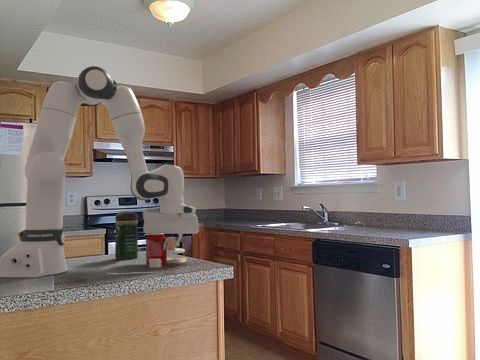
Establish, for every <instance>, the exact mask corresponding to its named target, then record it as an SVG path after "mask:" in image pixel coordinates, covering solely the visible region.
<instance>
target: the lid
mask: <svg viewBox="0 0 480 360" xmlns="http://www.w3.org/2000/svg"><path fill="white" fill-rule="evenodd" d="M166 240H167V255H169V254H172V255H175V254H182V253H185V251H186V249H184V248H182V247H181V248H179V247H176V246H175V241H176V237H175V236H167V237H166Z"/></svg>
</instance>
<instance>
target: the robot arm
mask: <svg viewBox="0 0 480 360" xmlns="http://www.w3.org/2000/svg"><path fill="white" fill-rule="evenodd" d="M46 92H47V93H46V95H45V98H44V100H43V103H42V105H41V109H40V113H39V117H38V121H37V125H36V128H35V132H34V135H33V139H32V141H31V145H30V148H29V151H28V154H27V158H26V163H25V166H24V170H23V171H24V175H25V178H26V179H27V186H26V203H25V229H23V230H22V231H20V232H17V234H18V235H17V237H19V241H18V242H17V243H15V244H14V245H13V246H12V247H11V248H9V249H8V250H6V251H5V252H4V253H3V254H1V256H0V278H40V277H45V276H51V275H58V274H61V273H65V272H68V270H69V268H68V265H67V262H66V256H65V248H64V245H65V241H66V240H65V238H66V237H65V228H64V227H63V226H64V224H63V223H64V218H63V217H64V215H63V214H64V212H63V211H64V210H63V209H64V198H65V197H64V196H65V189H66V174H67V173H66V170H67V166H66V164H65V163H66V162H65V161H64V160H65V157H66V154H67V151H68V148H69V145H70V143H71V140H72V138H73V132H74V128H75V126H76V121H77V118H78V117H77V116H78V112H79V109H80V107H95V106H98V105H100V104H101V105H102V106H104V107H105V108H106V110H107V111H108V113H109V114H108V115H109V118H110V122H111V124H112V127H113V130H114V132H115V134H116V136H117V138H118V140H119V142H120V144H121V146H122V148H123V150H124V151H123V152H124V154H125V157H126V160H127V164H128V166H129V170H130V174H131V175H130V176H131V177H130V178H131V180H130V192H131V194H132V196H133V197H134V198H135V199H137V200H140V201H149V200H153V199H155V198H159V207H158V208H155V207H154V208H149V207H148V208H147V209H145V210H144V211H143V212H142V219H143V220H144V222H143V230H142V231H143V233H144V234H147V235H148V233H154V232H163V233H165V234H167V235H169V234H170V235H171V234H173V235H175V234H176V235H177V236H178V237H179V238H178V239H177V240H175V247H180V242H181V239H182V238H183V234H187V235H189V234H198V233H199V232H200V227H199V218H198V216H197V214H196V211H197V210H196V208H195V207H194V206H191V205H189V204H186V203H185V200H184V192H185V191H184V189H185V179H184V178H185V177H184V170H183V169H182V168H181V167H180V166H178V165H174V164H171V163H170V164H169V163H164V164H162V165H161V166H159V167H158V168H155V169H152V170H151V171H149V169H148V167H147V163H146V160H145V156H144V152H143V141H144V136H145V132H146V127H145V126H146V125H145V121H144V115H143V113H142V110H141V106H140V104H139V101H138V99H137V98H136V96H135V94H134V92H133V90H132V88H130V87H128V86H126V85H118V83H117V82H116V80H114V79H113V77H111V75H110V74H109V73H108V72H107V71H106V69H104V68H102V67H99V66H95V65H92V66H91V65H90V66H88V67H86V68H84V69H83V70H82V71H81V72H80V73H79V76H78V77H77V78H76V80H75V81H74V82H67V81H63V80H58V81H55V82H53V83H52V84H51V85H50V87H49V88H48V91H46ZM165 234H164V235H165Z"/></svg>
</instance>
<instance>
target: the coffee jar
mask: <svg viewBox="0 0 480 360" xmlns="http://www.w3.org/2000/svg"><path fill="white" fill-rule="evenodd" d="M138 219H139V218H138V214H137V213H136V212H134V211H130V210H129V211H128V210H126V211H120V212H118V213H116V214H115V221H114V222H115V247H114V248H115V252H114V254H115V255H114V257H115V259H116V260H118V261H127V260H136V259H138V257H139V256H138V254H139V251H138V250H139V248H138V246H139V245H138V243H139V242H138V241H139V240H138V237H139V236H138V228H139V227H138V223H139V222H138V221H139V220H138Z"/></svg>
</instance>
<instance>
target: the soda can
mask: <svg viewBox="0 0 480 360" xmlns="http://www.w3.org/2000/svg"><path fill="white" fill-rule="evenodd" d="M145 252H146V253H145V256H146V257H145V263H146V264H145V267H146V269H150V270H158V269H159V270H160V269H165V268H167V264H168V263H167V258H168V257H167V256H168V254H167V237H166V235H165V233H163V232H154V233H148V234H147V237H146V238H145Z"/></svg>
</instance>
